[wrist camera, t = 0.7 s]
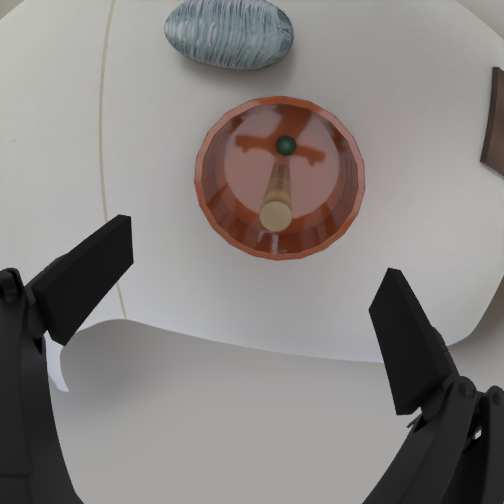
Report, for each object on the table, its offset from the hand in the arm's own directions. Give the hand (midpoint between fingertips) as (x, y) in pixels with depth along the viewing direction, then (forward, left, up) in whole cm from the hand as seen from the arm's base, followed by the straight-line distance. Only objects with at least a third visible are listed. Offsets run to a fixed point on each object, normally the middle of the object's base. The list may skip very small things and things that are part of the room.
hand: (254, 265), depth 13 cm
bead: (-4, +1, -20) cm, 20 cm away
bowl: (0, +1, -22) cm, 22 cm away
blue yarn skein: (-16, -7, -22) cm, 28 cm away
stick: (0, +1, -21) cm, 21 cm away
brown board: (-18, +33, -22) cm, 43 cm away
